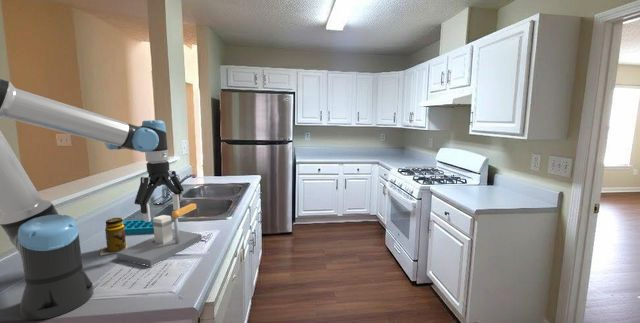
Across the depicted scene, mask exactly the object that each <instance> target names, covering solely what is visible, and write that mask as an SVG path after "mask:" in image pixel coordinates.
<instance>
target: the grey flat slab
mask: <svg viewBox="0 0 640 323" xmlns="http://www.w3.org/2000/svg"><path fill="white" fill-rule="evenodd" d="M172 237H173V240H172V241H169V242H167V243H165V244H158V243H155V238H154V236H152V237H150V238H148V239H145V240H142V241H141V242H138V243H136V244H134V245H132V246H130V247H127V249H125V250H122V251H120V252H117V260H118V261H123V260H124V261H123V262H127V261H129V262H128V263H131V262H135V263H134V264H136V263H140V264H145V265H148V266H152V265H154V264H156V263H158V262H160V261H162V262H164V261H165V259H166V260H168V259H170V258H171V257H173V256H174V255H176V253H177V254H178V252H179V253H180V252H182V251H184V250H186V249H187V248H189V247H192V246H193V245H195V244H197V243H200V242H201V241H202V240H203V238H202V233H201V234H200V233H195V232H190V231H186V230H180V229H179V243H175V229H173V228H172ZM163 260H164V261H163ZM160 263H161V262H160ZM140 264H139V265H140ZM158 264H159V263H158ZM156 265H157V264H156ZM148 266H147V267H148ZM154 266H155V265H154Z"/></svg>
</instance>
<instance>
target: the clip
mask: <svg viewBox="0 0 640 323" xmlns="http://www.w3.org/2000/svg"><path fill="white" fill-rule="evenodd" d="M196 209H197V203H189V204H187V205H185V206H182V207H180V209H178V210H172V211H171V219H172V218H173V227H174V230H175V243H179V230H180V229H179V217H181V216H184V215H185V214H188V213H189V212H192V211H194V210H196Z"/></svg>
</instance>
